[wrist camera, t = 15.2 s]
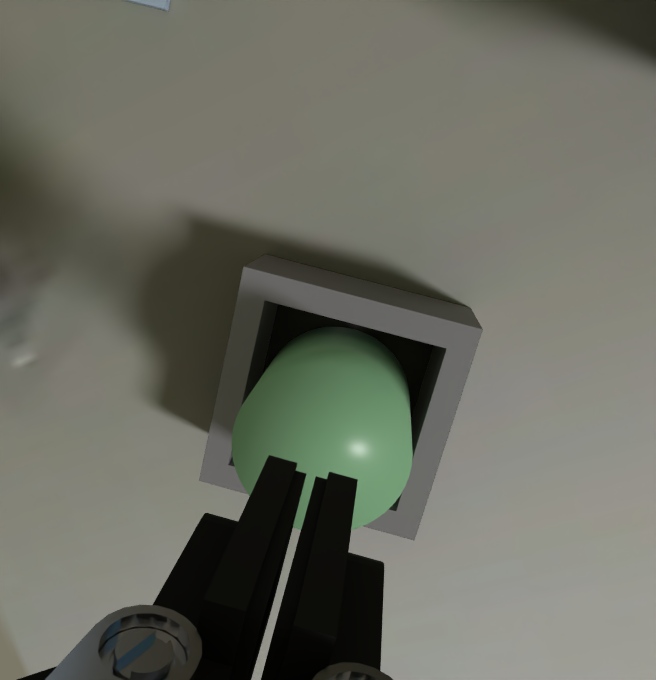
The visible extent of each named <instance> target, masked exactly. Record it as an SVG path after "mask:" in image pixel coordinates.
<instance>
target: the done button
mask: <svg viewBox="0 0 656 680" xmlns="http://www.w3.org/2000/svg"><path fill="white" fill-rule="evenodd" d="M269 455H271V456H274V457H278V458H282V459H285V460H289V461H293V462H296V463H297V468H296V471H299V472H303V473H306V478H305V482H304V486H303V490H302V494H301V498H300V501H299V505H298V509H297V513H296V517H295V521H294V525H293V527H294V528H297V529H300V530H301V529H302V525H303V522H304V518H305V514H306V510H307V507H308V503H309V499H310V496H311V492H312V488H313V485H314V481H315V477H316V476H317V477H321V478H325V479H327V477H328V474H329V472H333V473H336V474H340V475H344V476H347V477H351V478H354V479H358V482H357V490H356V497H355V505H354V512H353V520H352V527H351V530H353V529H356V528H359V527H361V526H364V525H366V524H368V523H370V522H372V521H374V520H375V519H377V518H378V517H380V516H381V515H382V514H384V513H385V512H386V511H387V510H388V509H389V508H390V507H391V506H392V505H393V504H394V503H395V502H396V500H397V499H398V498H399V496H400V495H401V493H402V491H403V489H404V488H405V486H406V483H407V481H408V478H409V475H410V471H411V466H412V457H413V451H412V432H411V414H410V396H409V387H408V382H407V378H406V376H405V373H404V371H403V369H402V367H401V365H400V363H399V361H398V360H397V359H396V357H395V356H394V355H393V353H392V352H391V351H390V350H389V349H388V348H387V347H386V346H385V345H383V344H382V343H381V342H380V341H378V340H377V339H375V338H374V337H372V336H370V335H368V334H366V333H364V332H361V331H358V330H355V329H350V328H345V327H323V328H318V329H314V330H311V331H308V332H305V333H303V334H301V335H299V336H297V337H296V338H294V339H293V340H291V341H290V342H288V343H287V344H286V345H285V346H284V347H283V348H282V349H281V350H280V351H279V352H278V354H277V355H276V356H275V358H274V359H273V361H272V362H271V364H270V365H269V366H268V368H267V369H266V371H265V372H264V374H263V375H262V377H261V378H260V380H259V381H258V383H257V384H256V386H255V387H254V388H253V390H252V391H251V393H250V394H249V396H248V397H247V399H246V400H245V402H244V403H243V405H242V406H241V408H240V410H239V413H238V415H237V417H236V420H235V423H234V427H233V433H232V457H233V462H234V466H235V470H236V472H237V475H238V477H239V480H240V482H241V483H242V485H243V487H244V489H245V490H246V492H247V493H248V494H249V496H250V495H251V493H252V491H253V489H254V486H255V484H256V482H257V480H258V478H259V475H260V473H261V471H262V469H263V467H264V464H265V462H266V460H267V458H268V456H269Z"/></svg>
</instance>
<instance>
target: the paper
mask: <svg viewBox="0 0 656 680" xmlns="http://www.w3.org/2000/svg"><path fill="white" fill-rule="evenodd" d="M123 1H128V2H132V3H136V4H140V5H144V6H148V7H152V8H156V9H160V10H164V11H169V4H170V0H123Z"/></svg>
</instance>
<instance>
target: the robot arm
mask: <svg viewBox="0 0 656 680" xmlns="http://www.w3.org/2000/svg"><path fill="white" fill-rule="evenodd" d="M296 468H297V463H296V462H293V461H289V460H285V459H282V458H278V457H274V456H271V455H269V456H268V458H267V460H266V462H265V464H264V467H263V469H262V471H261V473H260V475H259V478H258V480H257V482H256V484H255V486H254V489H253V491H252V493H251V495H250V497H249V500H248V502H247V504H246V506H245V508H244V511H243V513H242V515H241V517H240V519H239V522H238V521H234V520H230V519H227V518H223V517H220V516H216V515H213V514H209V513H205V514H204V515H203V517H202V518H201V520H200V522H199V524H198V525H197V527H196V529H195V531H194V532H193V534H192V536H191V538H190V540H189V541H188V543H187V545H186V547H185V548H184V550H183V552H182V554H181V556H180V557H179V559H178V561H177V563H176V564H175V566H174V568H173V570H172V572H171V573H170V575H169V577H168V579H167V580H166V582H165V584H164V586H163V587H162V589H161V591H160V593H159V595H158V596H157V598H156V600H155V602H154V603H153V605H136V606H131V607H125V608H122V609H120V610H117V611H115V612H113V613H111V614H108V615H107V616H106V617H105V618H103V619H102V620H101V621H100V622H98V623H97V624H96V625H95V626H94V627H93V628H92V629H91V630H90V631H89V632H88V634H87V635H86V636H85V637H84V638H83V639H82V640H81V641H80V642H79V643H78V644H77V645H76V647H75V648H74V649H73V650H72V651H71V652H70V653H69V654H68V655H67V656H66V657H65V659H64V660H63V661H62V662H61V663H60V664H59V665H58V666H57V667H53V668H50V669H47V670H44V671H41V672H38V673H35V674H32V675H29V676H26V677H24V678H21V679H17V680H251V678H252V674H253V671H254V667H255V664H256V660H257V657H258V654H259V650H260V647H261V643H262V640H263V636H264V633H265V629H266V626H267V623H268V619H269V616H270V612H271V609H272V605H273V601H274V598H275V594H276V590H277V586H278V582H279V578H280V575H281V571H282V567H283V563H284V559H285V555H286V551H287V548H288V544H289V540H290V536H291V532H292V528H293V525H294V521H295V517H296V513H297V509H298V505H299V501H300V498H301V494H302V490H303V486H304V482H305V478H306V473H303V472H299V471H296ZM357 482H358V479H354V478H351V477H347V476H344V475H340V474H336V473H333V472H329V474H328V477H327V479H325V478H321V477H317V476H316V477H315V481H314V485H313V488H312V492H311V496H310V499H309V503H308V507H307V510H306V514H305V518H304V522H303V525H302V529H301V533H300V536H299V540H298V544H297V547H296V551H295V555H294V558H293V562H292V566H291V569H290V573H289V577H288V581H287V584H286V588H285V592H284V595H283V599H282V603H281V606H280V610H279V614H278V617H277V621H276V625H275V629H274V632H273V636H272V640H271V644H270V647H269V651H268V655H267V659H266V663H265V666H264V670H263V674H262V678H261V680H393V679H392V678H391V677H390V676H388V675H386V674H385V673H383V672H381V671H380V663H381V638H382V612H383V587H384V563H383V562H381V561H377V560H374V559H370V558H366V557H363V556H359V555H356V554H352V553H349V552H348V549H349V542H350V535H351V527H352V520H353V512H354V505H355V497H356V490H357Z"/></svg>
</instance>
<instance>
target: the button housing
mask: <svg viewBox="0 0 656 680" xmlns="http://www.w3.org/2000/svg"><path fill="white" fill-rule="evenodd" d="M278 304H280V305H284V306H288V307H292V308H295V309H299V310H303V311H307V312H310V313H314V314H318V315H322V316H326V317H329V318H333V319H337V320H341V321H344V322H348V323H352V324H356V325H360V326H363V327H367V328H371V329H375V330H378V331H382V332H386V333H390V334H394V335H397V336H401V337H405V338H409V339H412V340H416V341H420V342H424V343H428V344H431V345H434V346H433V349H432V352H431V356H430V359H429V362H428V366H427V369H426V372H425V375H424V379H423V382H422V385H421V389H420V392H419V395H418V399H417V402H416V405H415V408H414V412H413V415H412V418H411V432H412V451H413V457H412V466H411V471H410V475H409V478H408V481H407V483H406V486H405V488H404V489H403V491H402V493H401V495H400V496H399V498H398V499H397V500H396V502H395V503H394V504H393V505H392V506H391V507H390V508H389V509H388V510H387V511H386V512H385V513H384V514H382V515H381V516H380V517H378V518H377V519H375V520H374V521H372V522H370V523H368V524H366V525H364V527H368V528H371V529H375V530H379V531H382V532H386V533H389V534H393V535H397V536H400V537H404V538H407V539H411V540H415V537H416V534H417V531H418V528H419V525H420V521H421V518H422V515H423V512H424V509H425V506H426V503H427V500H428V497H429V494H430V491H431V488H432V484H433V481H434V478H435V475H436V472H437V469H438V466H439V463H440V460H441V457H442V454H443V450H444V447H445V444H446V441H447V438H448V435H449V432H450V429H451V426H452V423H453V420H454V416H455V413H456V410H457V407H458V404H459V401H460V398H461V395H462V392H463V389H464V386H465V383H466V379H467V376H468V373H469V370H470V367H471V364H472V361H473V358H474V355H475V352H476V349H477V345H478V342H479V339H480V336H481V333H482V330H483V329H482V327H481V326H480V324H479V322H478V320H477V318H476V317H475V315H474V313H473V311H472V309H471V308H469V307H465V306H461V305H457V304H454V303H450V302H446V301H442V300H438V299H434V298H431V297H427V296H423V295H419V294H415V293H412V292H408V291H404V290H400V289H396V288H392V287H389V286H385V285H381V284H377V283H373V282H369V281H366V280H362V279H358V278H354V277H350V276H347V275H343V274H339V273H335V272H331V271H327V270H324V269H320V268H316V267H312V266H308V265H304V264H301V263H297V262H293V261H289V260H285V259H282V258H278V257H274V256H270V255H266V254H264V255H263V256H261V257H259V258H257V259H256V260H254V261H252V262H251V263H249V264H247V265H245V266H244V267H243V271H242V276H241V281H240V286H239V291H238V295H237V300H236V305H235V310H234V315H233V320H232V324H231V329H230V334H229V339H228V344H227V348H226V353H225V358H224V363H223V368H222V372H221V377H220V382H219V387H218V392H217V396H216V401H215V406H214V411H213V416H212V421H211V425H210V430H209V435H208V440H207V445H206V449H205V454H204V459H203V464H202V469H201V473H200V478H199V481H202V482H206V483H210V484H213V485H217V486H220V487H224V488H227V489H231V490H235V491H238V492H242V493H245V494H248V493H247V492H246V490H245V489H244V487H243V485H242V483H241V482H240V480H239V477H238V475H237V472H236V470H235V466H234V462H233V457H232V433H233V427H234V423H235V420H236V417H237V415H238V413H239V410H240V408H241V406H242V405H243V403H244V402H245V400H246V399H247V397H248V396H249V394H250V393H251V391H252V390H253V388H254V387H255V386H256V384H257V383H258V381H259V380H260V378H261V377H262V373H263V369H264V364H265V360H266V356H267V351H268V347H269V342H270V338H271V334H272V329H273V325H274V320H275V316H276V312H277V307H278Z"/></svg>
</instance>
